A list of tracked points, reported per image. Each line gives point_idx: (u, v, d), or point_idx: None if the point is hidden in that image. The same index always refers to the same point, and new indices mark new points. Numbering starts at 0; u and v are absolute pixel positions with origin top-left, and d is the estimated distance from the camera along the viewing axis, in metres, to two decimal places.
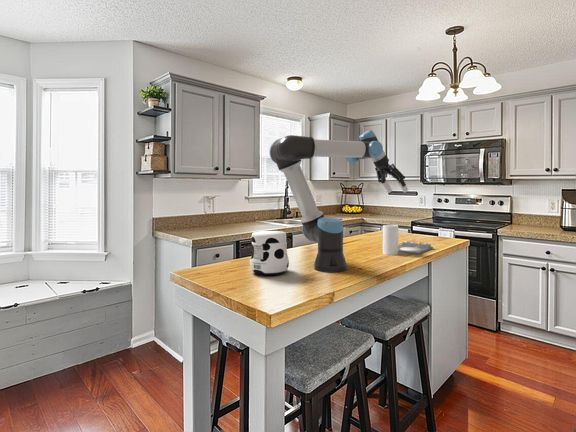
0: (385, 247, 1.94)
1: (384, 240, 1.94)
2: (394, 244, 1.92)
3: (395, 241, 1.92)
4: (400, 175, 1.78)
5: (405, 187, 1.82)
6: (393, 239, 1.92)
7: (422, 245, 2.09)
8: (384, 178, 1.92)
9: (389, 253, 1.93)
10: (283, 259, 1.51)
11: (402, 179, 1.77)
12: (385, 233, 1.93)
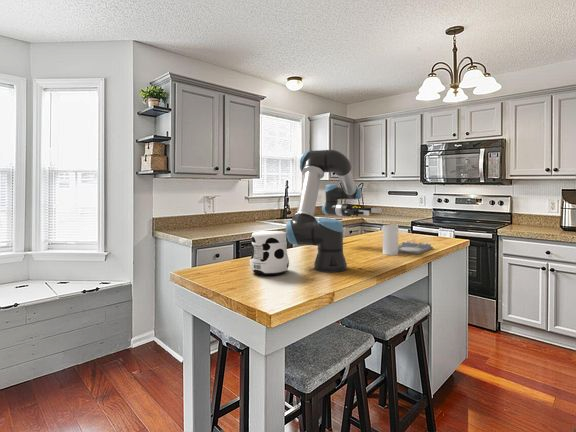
0: (385, 247, 1.94)
1: (384, 240, 1.94)
2: (394, 244, 1.92)
3: (395, 241, 1.92)
4: None
5: None
6: (393, 239, 1.92)
7: (422, 245, 2.09)
8: None
9: (389, 253, 1.93)
10: (283, 259, 1.51)
11: None
12: (385, 233, 1.93)
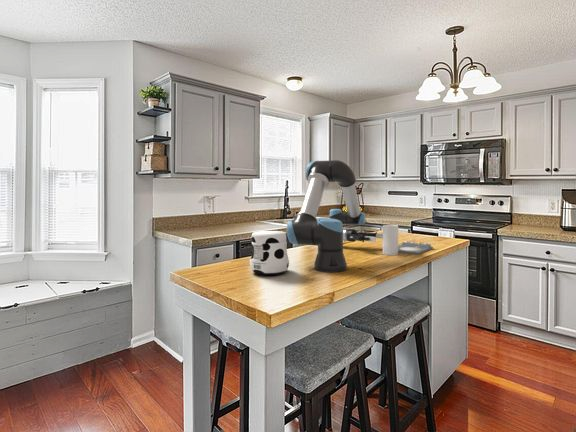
0: (385, 247, 1.94)
1: (384, 240, 1.94)
2: (394, 244, 1.92)
3: (395, 241, 1.92)
4: None
5: None
6: (393, 239, 1.92)
7: (422, 245, 2.09)
8: None
9: (389, 253, 1.93)
10: (283, 259, 1.51)
11: None
12: (385, 233, 1.93)
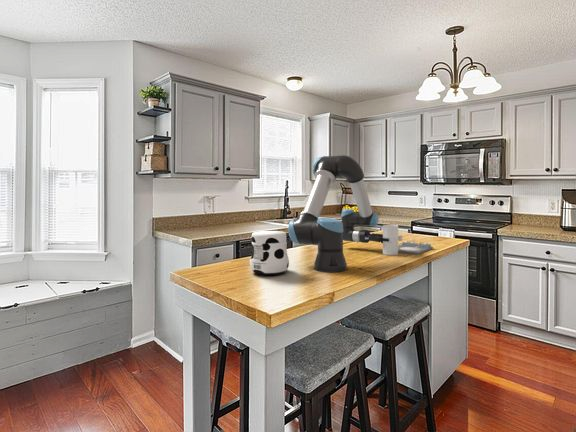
0: (385, 247, 1.94)
1: None
2: (394, 244, 1.92)
3: (395, 241, 1.92)
4: None
5: None
6: None
7: (422, 245, 2.09)
8: None
9: (389, 253, 1.93)
10: (283, 259, 1.51)
11: None
12: (385, 233, 1.93)
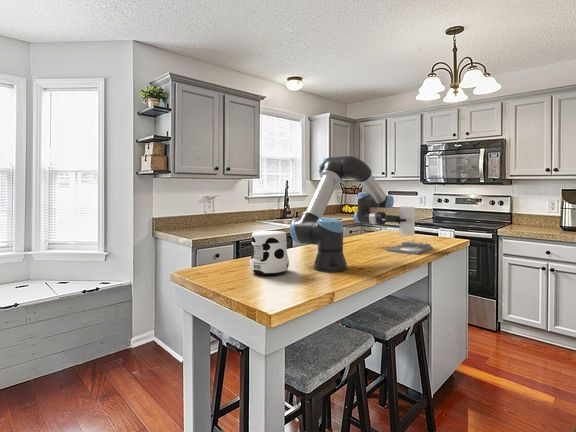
0: (402, 227, 1.99)
1: None
2: (411, 224, 1.97)
3: None
4: None
5: None
6: None
7: (422, 245, 2.09)
8: None
9: (406, 233, 1.98)
10: (283, 259, 1.51)
11: None
12: (402, 214, 1.99)
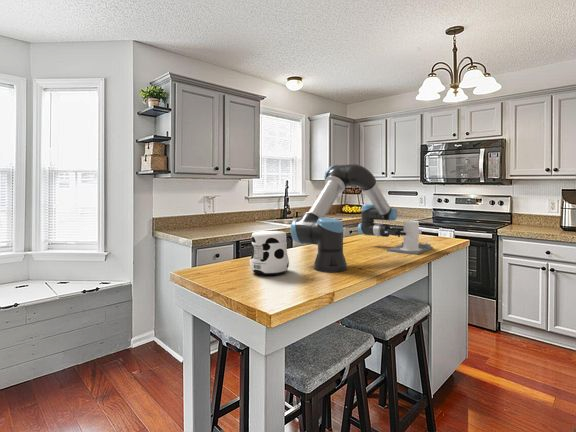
0: (406, 242, 2.00)
1: None
2: (415, 239, 1.99)
3: (416, 236, 1.99)
4: None
5: None
6: (414, 234, 1.98)
7: (422, 245, 2.09)
8: None
9: (410, 248, 1.99)
10: (283, 259, 1.51)
11: None
12: (406, 229, 2.00)
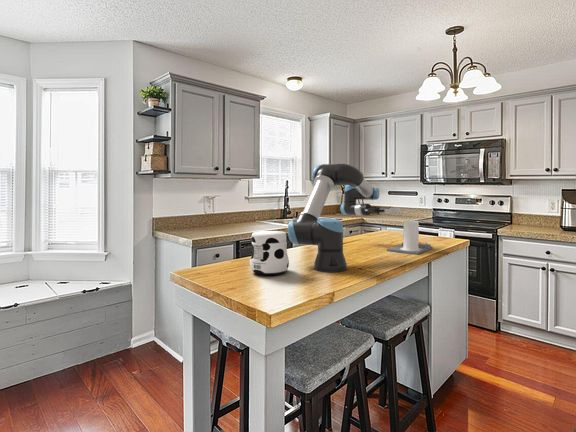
0: (406, 242, 2.00)
1: (405, 235, 2.01)
2: (415, 239, 1.99)
3: (416, 236, 1.99)
4: None
5: None
6: (414, 234, 1.98)
7: (422, 245, 2.09)
8: None
9: (410, 248, 1.99)
10: (283, 259, 1.51)
11: None
12: (406, 229, 2.00)
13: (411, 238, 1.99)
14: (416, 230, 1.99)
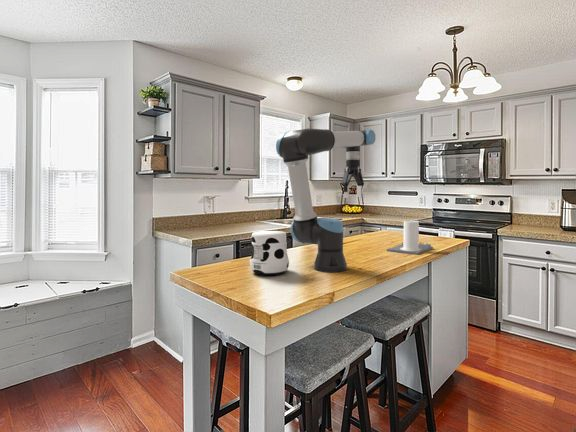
0: (406, 242, 2.00)
1: (405, 235, 2.01)
2: (415, 239, 1.99)
3: (416, 236, 1.99)
4: (343, 180, 1.91)
5: (346, 194, 1.93)
6: (414, 234, 1.98)
7: (422, 245, 2.09)
8: (358, 182, 2.02)
9: (410, 248, 1.99)
10: (283, 259, 1.51)
11: (341, 183, 1.91)
12: (406, 229, 2.00)
13: (411, 238, 1.99)
14: (416, 230, 1.99)
